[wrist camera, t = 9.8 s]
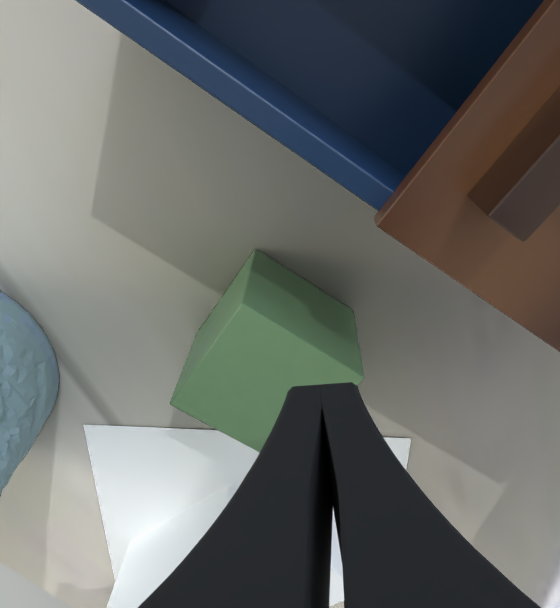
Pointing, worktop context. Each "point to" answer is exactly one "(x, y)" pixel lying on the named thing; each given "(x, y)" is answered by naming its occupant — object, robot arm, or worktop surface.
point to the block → (265, 351)
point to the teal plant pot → (23, 384)
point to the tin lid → (496, 185)
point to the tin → (332, 70)
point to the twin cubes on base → (172, 499)
